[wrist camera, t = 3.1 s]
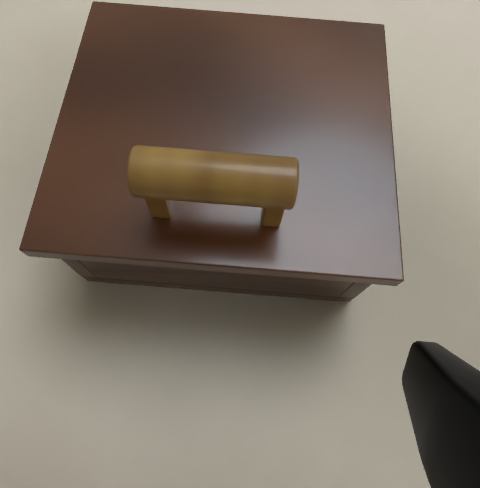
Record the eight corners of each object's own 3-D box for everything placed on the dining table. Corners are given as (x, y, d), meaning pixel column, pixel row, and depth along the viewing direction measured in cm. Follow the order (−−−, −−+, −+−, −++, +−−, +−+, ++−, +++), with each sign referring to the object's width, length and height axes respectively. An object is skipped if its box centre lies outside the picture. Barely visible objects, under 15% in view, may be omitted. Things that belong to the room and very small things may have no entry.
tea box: (349, 302, 21) (394, 266, 15) (86, 281, 21) (33, 237, 15) (344, 119, 25) (378, 37, 19) (126, 101, 25) (97, 15, 19)
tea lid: (396, 286, 15) (456, 246, 11) (27, 256, 15) (-44, 206, 11) (379, 36, 19) (416, -54, 15) (97, 14, 19) (64, -82, 15)
